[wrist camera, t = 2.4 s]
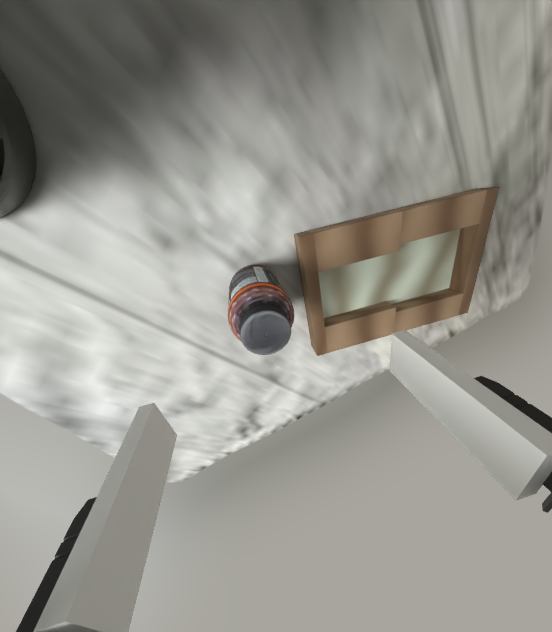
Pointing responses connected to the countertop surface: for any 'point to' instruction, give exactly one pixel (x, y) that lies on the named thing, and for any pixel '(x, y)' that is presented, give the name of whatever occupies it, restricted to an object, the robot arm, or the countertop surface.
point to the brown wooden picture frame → (393, 268)
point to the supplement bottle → (259, 310)
